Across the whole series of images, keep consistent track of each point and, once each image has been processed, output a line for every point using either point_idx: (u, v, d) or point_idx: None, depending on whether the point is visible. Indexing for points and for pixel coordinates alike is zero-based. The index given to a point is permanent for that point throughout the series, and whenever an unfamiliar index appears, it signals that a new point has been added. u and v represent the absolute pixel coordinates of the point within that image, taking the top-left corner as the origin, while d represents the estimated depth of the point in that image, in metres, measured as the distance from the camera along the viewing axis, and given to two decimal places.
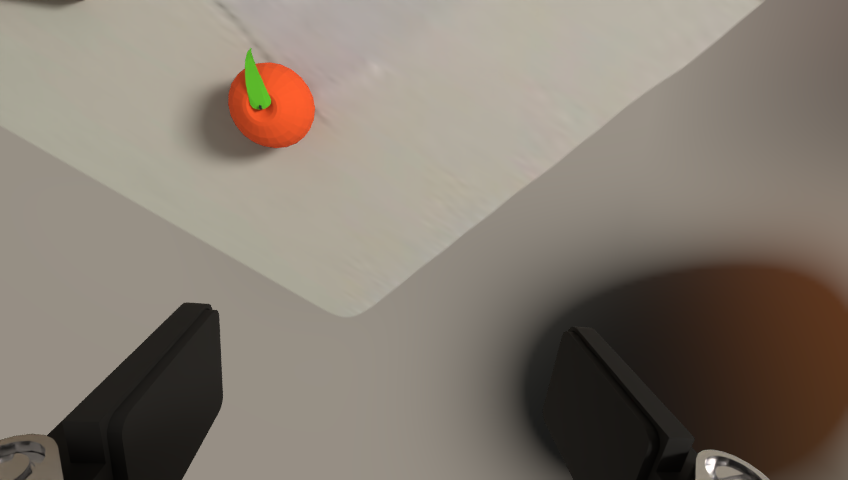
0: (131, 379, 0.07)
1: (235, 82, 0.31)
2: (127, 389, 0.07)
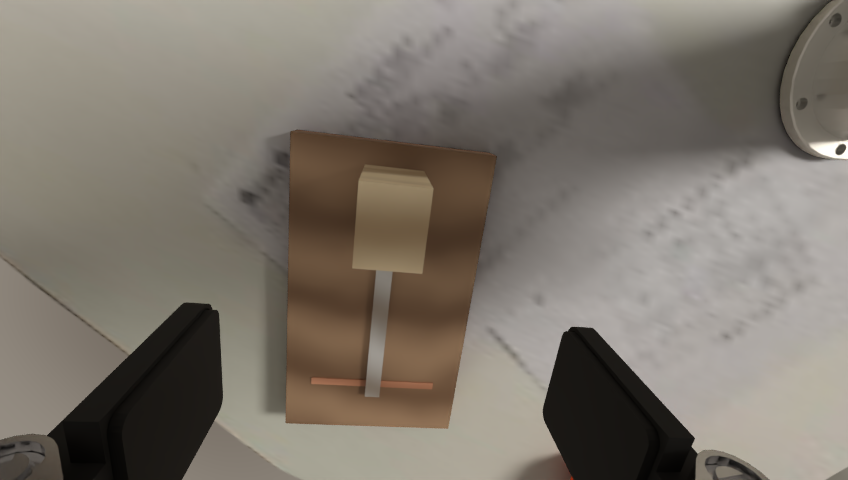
0: (131, 379, 0.07)
1: None
2: (127, 389, 0.07)
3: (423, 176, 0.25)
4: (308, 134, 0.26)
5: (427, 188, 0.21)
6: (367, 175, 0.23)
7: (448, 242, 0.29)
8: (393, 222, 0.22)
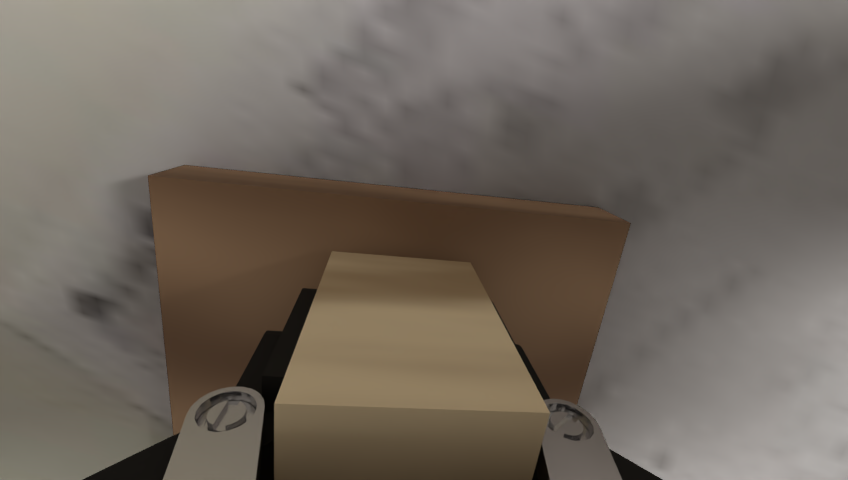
0: (295, 346, 0.08)
1: None
2: None
3: (480, 298, 0.09)
4: (194, 181, 0.11)
5: (528, 411, 0.06)
6: (322, 331, 0.07)
7: None
8: None
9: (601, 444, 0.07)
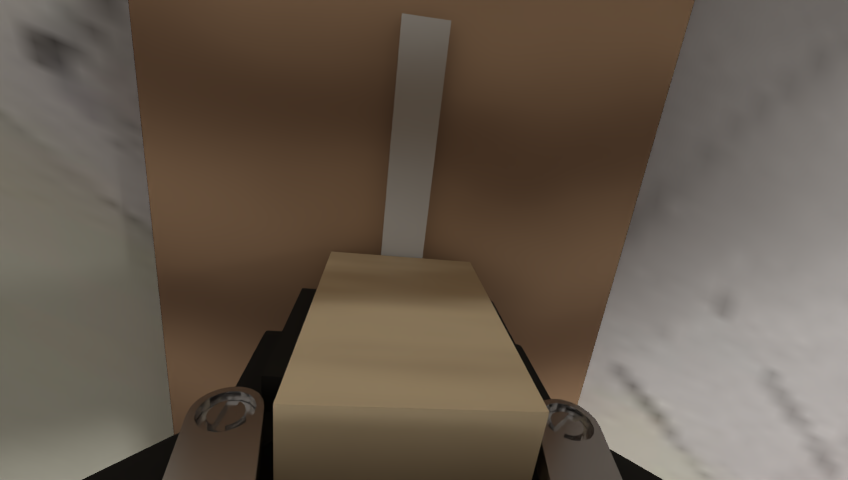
0: (294, 347, 0.08)
1: None
2: None
3: (479, 297, 0.09)
4: None
5: (527, 411, 0.06)
6: (322, 331, 0.07)
7: (566, 164, 0.11)
8: None
9: (601, 444, 0.07)
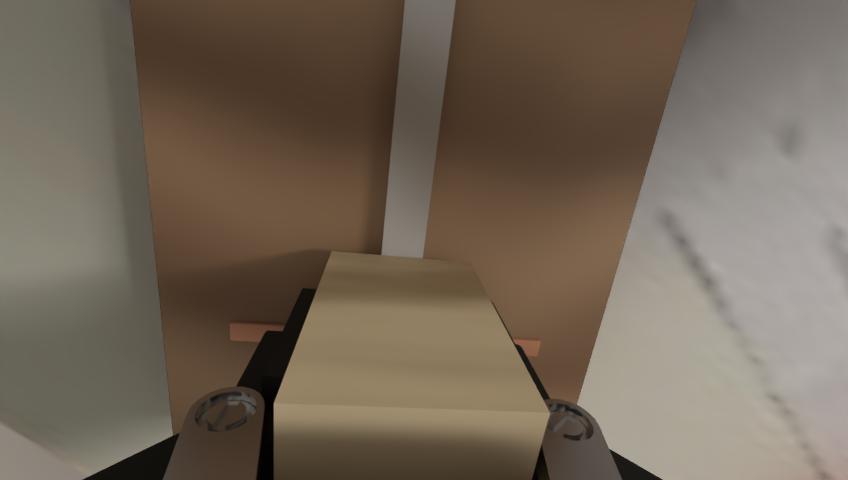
0: None
1: None
2: None
3: (479, 298, 0.09)
4: None
5: (527, 411, 0.06)
6: (322, 331, 0.07)
7: None
8: None
9: (601, 444, 0.07)
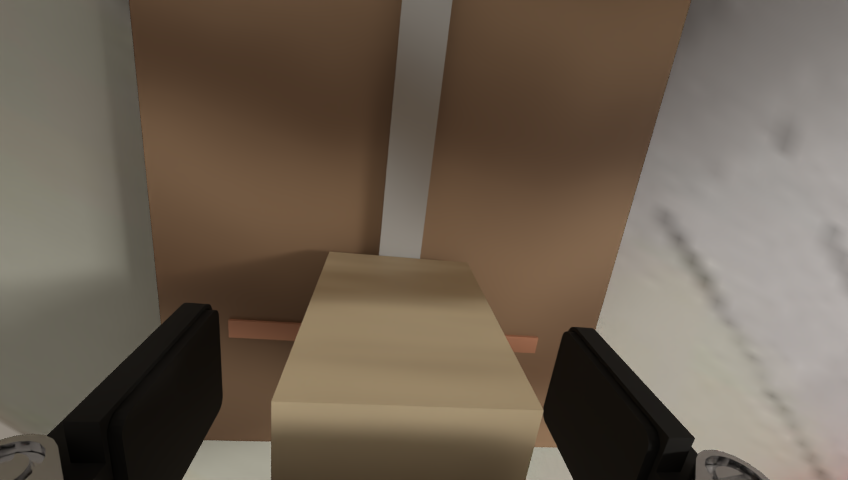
0: (131, 379, 0.07)
1: None
2: (127, 389, 0.07)
3: (476, 298, 0.09)
4: None
5: (522, 409, 0.06)
6: (320, 330, 0.07)
7: None
8: None
9: None
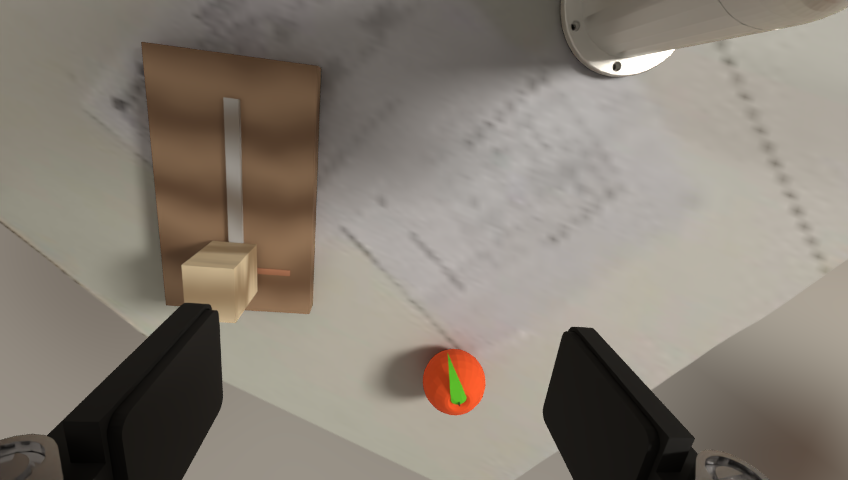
0: (131, 379, 0.07)
1: (436, 380, 0.41)
2: (127, 389, 0.07)
3: (245, 252, 0.35)
4: (156, 44, 0.32)
5: (229, 268, 0.32)
6: (197, 256, 0.33)
7: (286, 142, 0.35)
8: (209, 290, 0.32)
9: None
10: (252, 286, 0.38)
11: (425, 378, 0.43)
